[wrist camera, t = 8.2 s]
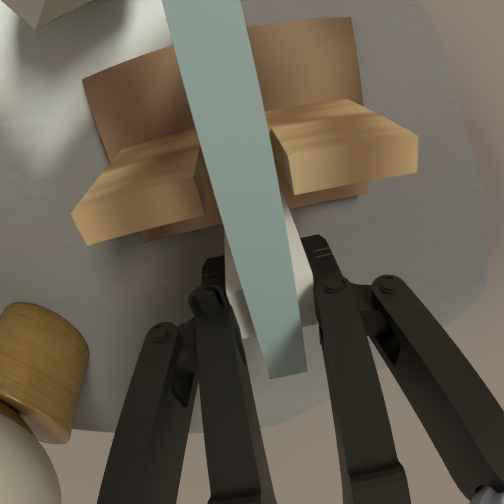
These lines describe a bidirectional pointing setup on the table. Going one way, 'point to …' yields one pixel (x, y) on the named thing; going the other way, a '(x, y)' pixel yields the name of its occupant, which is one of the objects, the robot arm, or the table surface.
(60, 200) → the table surface
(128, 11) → the table surface
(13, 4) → the die
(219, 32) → the teal rectangular panel
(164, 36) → the table surface
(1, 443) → the lamp
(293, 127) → the walnut stand
